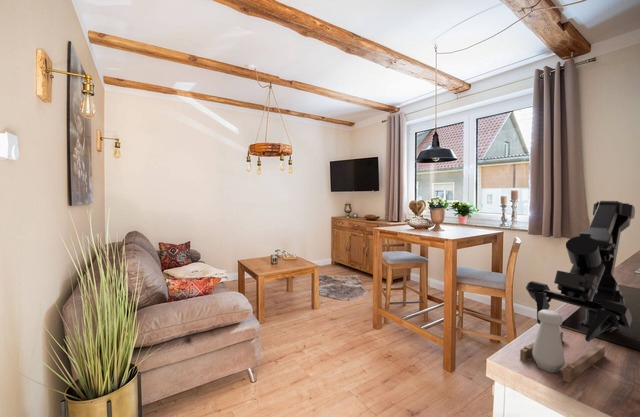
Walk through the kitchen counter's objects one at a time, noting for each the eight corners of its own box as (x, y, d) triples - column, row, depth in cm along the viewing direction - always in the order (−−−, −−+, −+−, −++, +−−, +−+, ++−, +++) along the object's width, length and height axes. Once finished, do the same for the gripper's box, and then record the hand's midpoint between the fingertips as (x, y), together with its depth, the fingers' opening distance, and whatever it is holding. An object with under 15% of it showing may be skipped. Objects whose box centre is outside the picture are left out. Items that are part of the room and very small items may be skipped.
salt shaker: (570, 377, 60) (574, 319, 59) (540, 373, 61) (543, 316, 61) (553, 361, 66) (556, 307, 65) (526, 358, 67) (529, 305, 66)
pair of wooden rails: (558, 338, 76) (558, 328, 76) (604, 356, 68) (605, 345, 68) (520, 359, 67) (520, 348, 66) (568, 382, 59) (569, 370, 58)
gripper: (531, 251, 76) (506, 299, 71) (631, 268, 59) (608, 331, 55) (543, 275, 80) (521, 321, 76) (640, 297, 64) (619, 358, 59)
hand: (561, 331), depth 66 cm, fingers open, 9 cm apart
